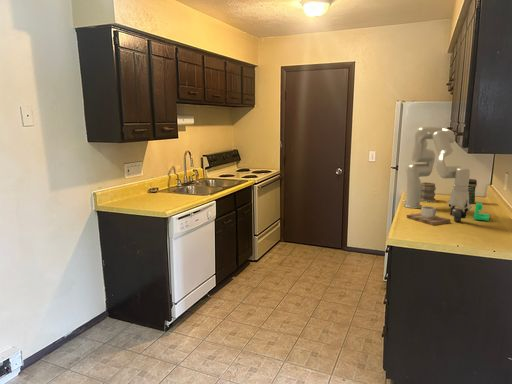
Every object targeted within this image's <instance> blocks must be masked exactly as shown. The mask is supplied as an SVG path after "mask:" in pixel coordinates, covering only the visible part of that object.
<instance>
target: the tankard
mask: <svg viewBox="0 0 512 384" xmlns="http://www.w3.org/2000/svg"><path fill="white" fill-rule="evenodd" d="M436 189H437V188H436V183H435V182H421V195H420V202H422V201H427V202H426V203H434V202H433V201H437V200H436V198H435V197H436Z"/></svg>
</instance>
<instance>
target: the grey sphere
mask: <svg viewBox="0 0 512 384" xmlns="http://www.w3.org/2000/svg"><path fill="white" fill-rule="evenodd" d="M462 212H463V210H462V208H460V207H455V208H453V209H452V215H451V216H452V217H453V221H454V222H462V218H461V215H462Z"/></svg>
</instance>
